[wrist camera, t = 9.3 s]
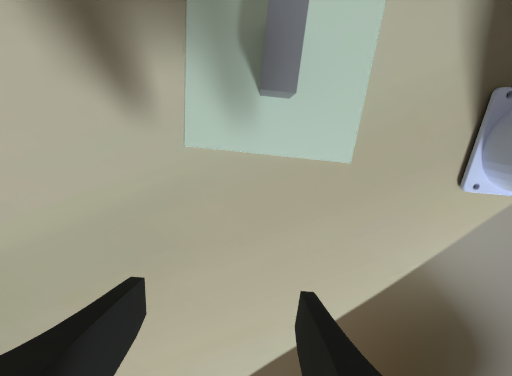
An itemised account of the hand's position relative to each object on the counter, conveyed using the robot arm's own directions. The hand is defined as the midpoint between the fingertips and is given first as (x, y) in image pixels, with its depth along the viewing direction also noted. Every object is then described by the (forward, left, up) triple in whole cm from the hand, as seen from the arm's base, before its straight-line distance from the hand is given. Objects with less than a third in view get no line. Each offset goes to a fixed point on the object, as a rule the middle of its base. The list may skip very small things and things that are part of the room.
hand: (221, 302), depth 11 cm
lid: (-2, -12, -11) cm, 17 cm away
